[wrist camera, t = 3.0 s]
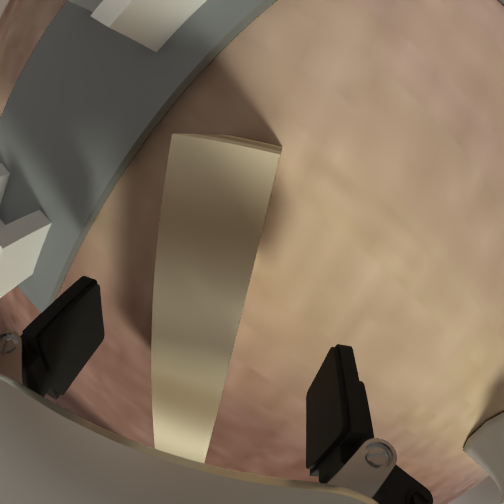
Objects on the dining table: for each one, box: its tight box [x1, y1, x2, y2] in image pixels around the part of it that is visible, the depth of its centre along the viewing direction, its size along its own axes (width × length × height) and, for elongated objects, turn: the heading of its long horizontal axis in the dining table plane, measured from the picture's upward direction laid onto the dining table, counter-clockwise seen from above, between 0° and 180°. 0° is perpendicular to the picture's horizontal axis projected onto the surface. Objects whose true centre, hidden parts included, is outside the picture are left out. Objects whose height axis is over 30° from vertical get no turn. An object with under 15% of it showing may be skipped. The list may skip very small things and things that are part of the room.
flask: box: [463, 412, 504, 504], centre depth 14 cm, size 7×7×10 cm
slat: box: [151, 134, 282, 463], centre depth 12 cm, size 16×2×7 cm, turn 168°
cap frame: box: [0, 0, 277, 313], centre depth 10 cm, size 25×10×5 cm, turn 138°
